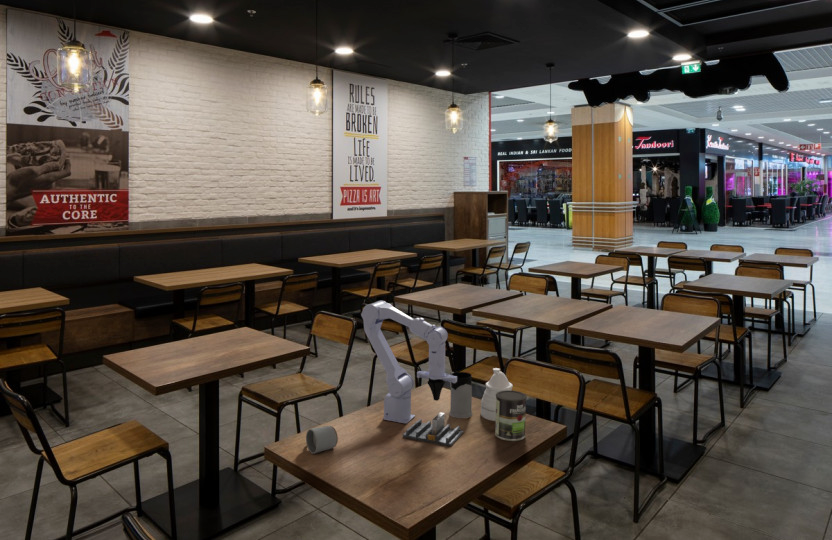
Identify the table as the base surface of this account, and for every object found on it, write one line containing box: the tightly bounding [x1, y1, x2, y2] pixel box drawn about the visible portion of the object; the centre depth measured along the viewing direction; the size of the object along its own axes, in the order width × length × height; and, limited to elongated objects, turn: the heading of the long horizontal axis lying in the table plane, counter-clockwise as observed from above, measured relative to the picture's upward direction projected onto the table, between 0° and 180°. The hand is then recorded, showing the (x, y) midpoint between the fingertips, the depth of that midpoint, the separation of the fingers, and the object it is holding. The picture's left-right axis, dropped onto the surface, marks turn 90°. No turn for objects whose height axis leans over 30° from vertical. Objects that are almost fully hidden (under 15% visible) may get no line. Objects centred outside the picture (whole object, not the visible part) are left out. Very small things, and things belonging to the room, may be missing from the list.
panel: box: [431, 411, 446, 437], centre depth 194 cm, size 2×7×6 cm, turn 156°
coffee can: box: [494, 390, 527, 442], centre depth 195 cm, size 10×10×14 cm
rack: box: [402, 418, 464, 447], centre depth 195 cm, size 17×12×2 cm
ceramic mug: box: [305, 425, 339, 455], centre depth 185 cm, size 11×8×8 cm
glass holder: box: [449, 371, 473, 419], centre depth 217 cm, size 9×14×15 cm, turn 21°
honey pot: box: [480, 367, 514, 422], centre depth 213 cm, size 13×13×18 cm
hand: (436, 399), depth 203 cm, fingers closed
